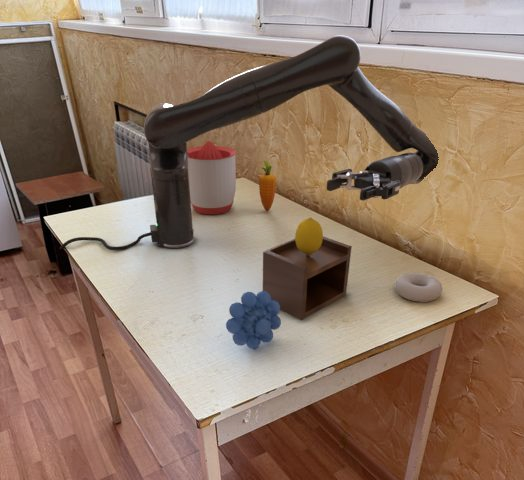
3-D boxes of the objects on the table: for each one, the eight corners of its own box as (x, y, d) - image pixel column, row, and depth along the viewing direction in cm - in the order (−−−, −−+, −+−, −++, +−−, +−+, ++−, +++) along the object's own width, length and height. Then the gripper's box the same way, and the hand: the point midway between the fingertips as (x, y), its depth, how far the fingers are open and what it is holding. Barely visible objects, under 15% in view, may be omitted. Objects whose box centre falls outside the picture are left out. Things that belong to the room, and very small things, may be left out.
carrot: (275, 214, 150) (276, 163, 142) (258, 214, 150) (259, 163, 142) (275, 209, 154) (276, 159, 146) (259, 209, 154) (259, 159, 146)
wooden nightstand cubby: (301, 320, 100) (304, 268, 94) (262, 301, 106) (262, 251, 100) (346, 295, 109) (351, 246, 102) (307, 279, 115) (310, 231, 109)
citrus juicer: (182, 201, 160) (176, 135, 148) (235, 200, 161) (234, 134, 150) (180, 218, 147) (174, 148, 136) (239, 216, 149) (237, 146, 137)
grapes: (241, 369, 87) (239, 310, 80) (221, 351, 91) (217, 293, 84) (293, 348, 92) (296, 290, 85) (272, 332, 97) (273, 276, 90)
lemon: (322, 261, 100) (325, 222, 95) (294, 260, 100) (296, 222, 95) (320, 250, 104) (323, 213, 100) (293, 249, 104) (295, 212, 100)
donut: (439, 308, 105) (441, 286, 112) (442, 294, 103) (444, 273, 110) (391, 300, 107) (396, 280, 115) (393, 286, 105) (399, 266, 113)
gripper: (364, 152, 113) (319, 165, 104) (419, 164, 105) (376, 179, 96) (360, 185, 118) (316, 200, 108) (413, 199, 110) (370, 217, 100)
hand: (344, 190), depth 102 cm, fingers open, 8 cm apart
